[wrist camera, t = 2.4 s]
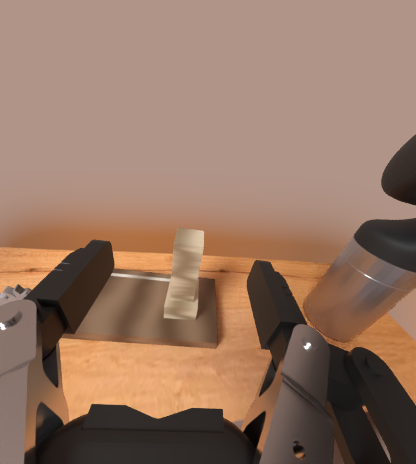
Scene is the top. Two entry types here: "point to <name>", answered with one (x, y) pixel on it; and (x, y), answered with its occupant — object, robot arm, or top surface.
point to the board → (147, 313)
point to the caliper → (13, 294)
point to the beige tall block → (185, 275)
